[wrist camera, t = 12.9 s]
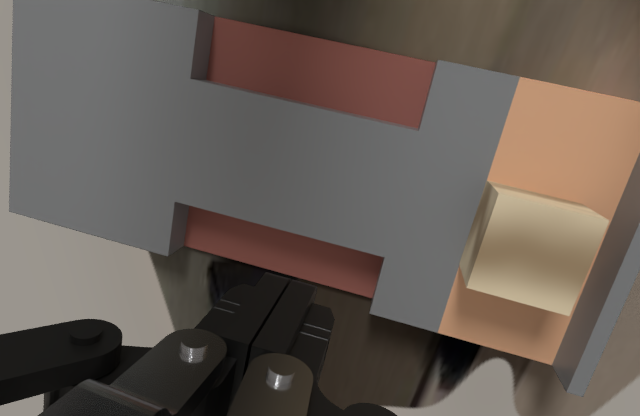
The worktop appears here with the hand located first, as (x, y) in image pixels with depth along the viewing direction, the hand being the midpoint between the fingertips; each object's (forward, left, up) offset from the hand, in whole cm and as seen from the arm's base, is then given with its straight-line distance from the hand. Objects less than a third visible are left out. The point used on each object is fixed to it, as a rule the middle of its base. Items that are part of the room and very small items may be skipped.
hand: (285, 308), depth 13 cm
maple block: (+1, +11, -19) cm, 22 cm away
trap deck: (0, -5, -22) cm, 22 cm away
